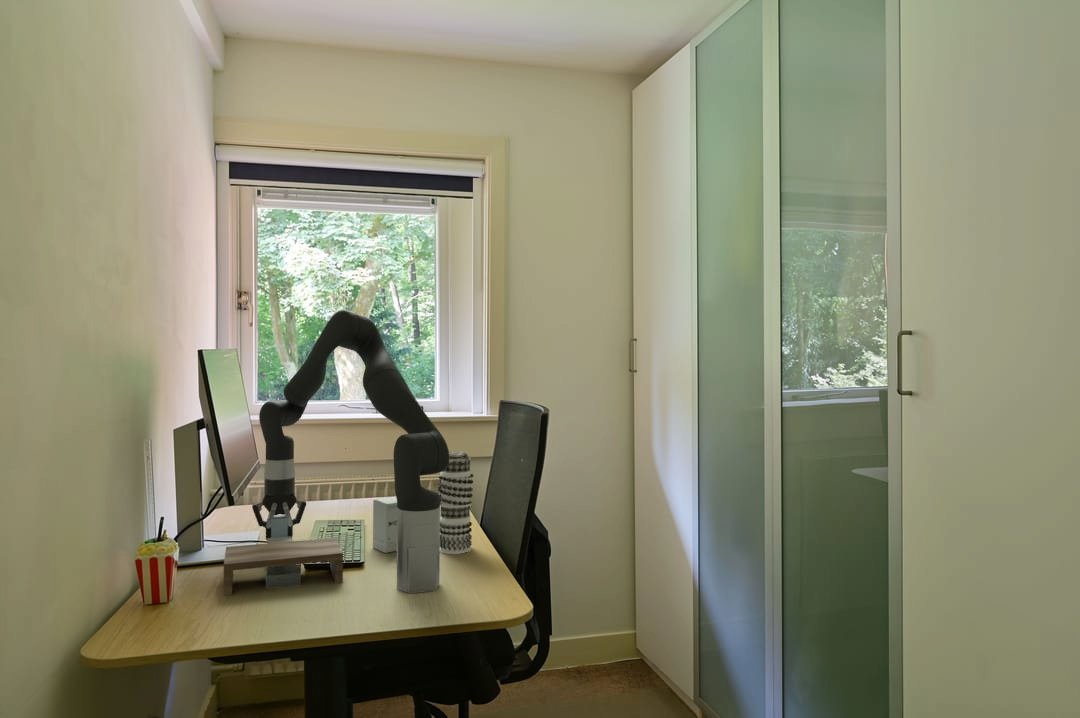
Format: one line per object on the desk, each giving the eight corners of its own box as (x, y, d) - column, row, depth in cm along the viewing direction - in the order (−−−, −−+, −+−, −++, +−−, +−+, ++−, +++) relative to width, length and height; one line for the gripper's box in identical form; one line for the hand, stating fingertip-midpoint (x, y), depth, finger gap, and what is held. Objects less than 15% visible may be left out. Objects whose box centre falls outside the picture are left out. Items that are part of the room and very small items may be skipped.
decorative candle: (476, 553, 181) (477, 454, 181) (439, 555, 179) (440, 455, 179) (469, 543, 190) (470, 449, 190) (434, 546, 188) (435, 450, 187)
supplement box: (385, 553, 180) (385, 503, 180) (372, 547, 186) (372, 498, 186) (411, 548, 185) (411, 500, 185) (397, 542, 191) (397, 495, 191)
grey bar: (266, 542, 190) (267, 516, 189) (290, 540, 192) (291, 514, 192) (268, 568, 167) (268, 538, 167) (295, 565, 170) (295, 536, 169)
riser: (342, 582, 158) (342, 553, 158) (223, 595, 149) (223, 564, 149) (335, 564, 171) (336, 537, 171) (226, 575, 162) (226, 546, 162)
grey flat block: (300, 587, 156) (300, 573, 156) (266, 589, 153) (266, 575, 153) (301, 577, 162) (301, 564, 162) (268, 579, 160) (268, 566, 160)
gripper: (250, 479, 182) (250, 547, 183) (309, 476, 188) (308, 542, 188) (250, 475, 189) (250, 539, 190) (307, 472, 195) (306, 535, 195)
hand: (279, 540), depth 189 cm, fingers closed on grey bar, 4 cm apart
